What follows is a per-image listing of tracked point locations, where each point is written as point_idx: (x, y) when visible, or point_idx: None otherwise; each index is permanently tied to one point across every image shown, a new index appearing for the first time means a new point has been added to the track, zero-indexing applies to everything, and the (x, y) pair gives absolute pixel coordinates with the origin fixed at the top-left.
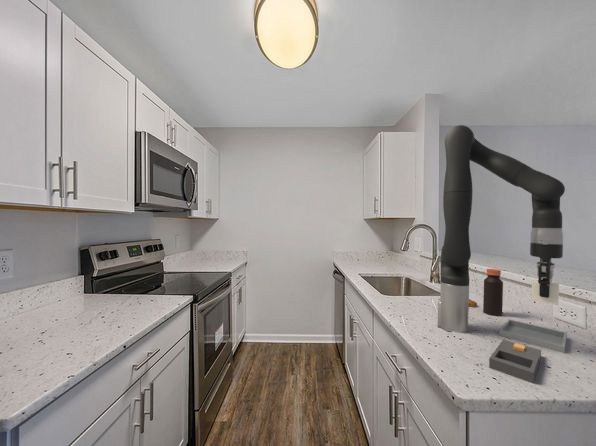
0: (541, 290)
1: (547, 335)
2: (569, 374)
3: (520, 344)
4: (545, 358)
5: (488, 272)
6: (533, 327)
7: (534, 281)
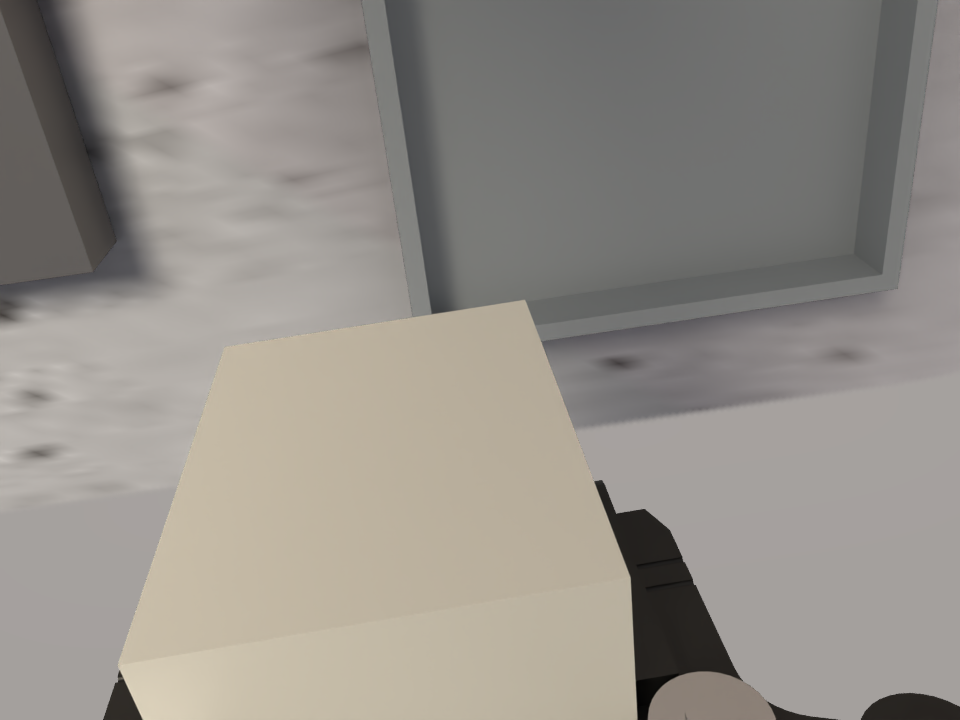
0: (123, 685)
1: (812, 144)
2: (26, 419)
3: (28, 111)
4: (171, 258)
5: None
6: (901, 13)
7: (312, 673)
